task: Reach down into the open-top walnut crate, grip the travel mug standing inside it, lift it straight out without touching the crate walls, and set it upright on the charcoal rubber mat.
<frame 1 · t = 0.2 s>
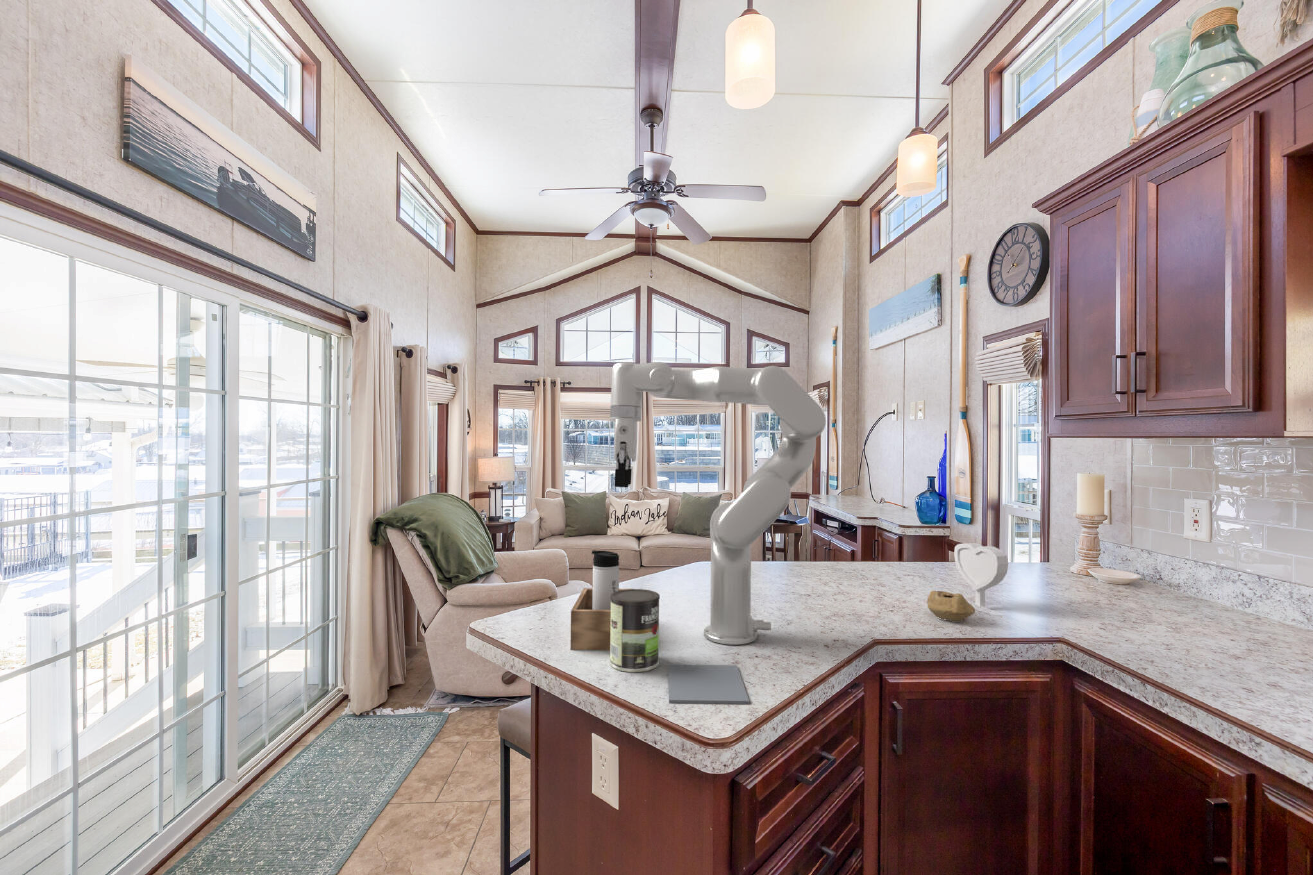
hand: (623, 485, 133), 36 cm above the countertop, tool pointing down, fingers open, 9 cm apart
mat: (705, 683, 105), on the countertop
travel mug: (604, 635, 132), resting in crate
oil lamp: (946, 618, 148), on the countertop
coffee can: (634, 663, 115), on the countertop
crate: (604, 634, 132), on the countertop
heart sculpture: (980, 609, 157), on the countertop
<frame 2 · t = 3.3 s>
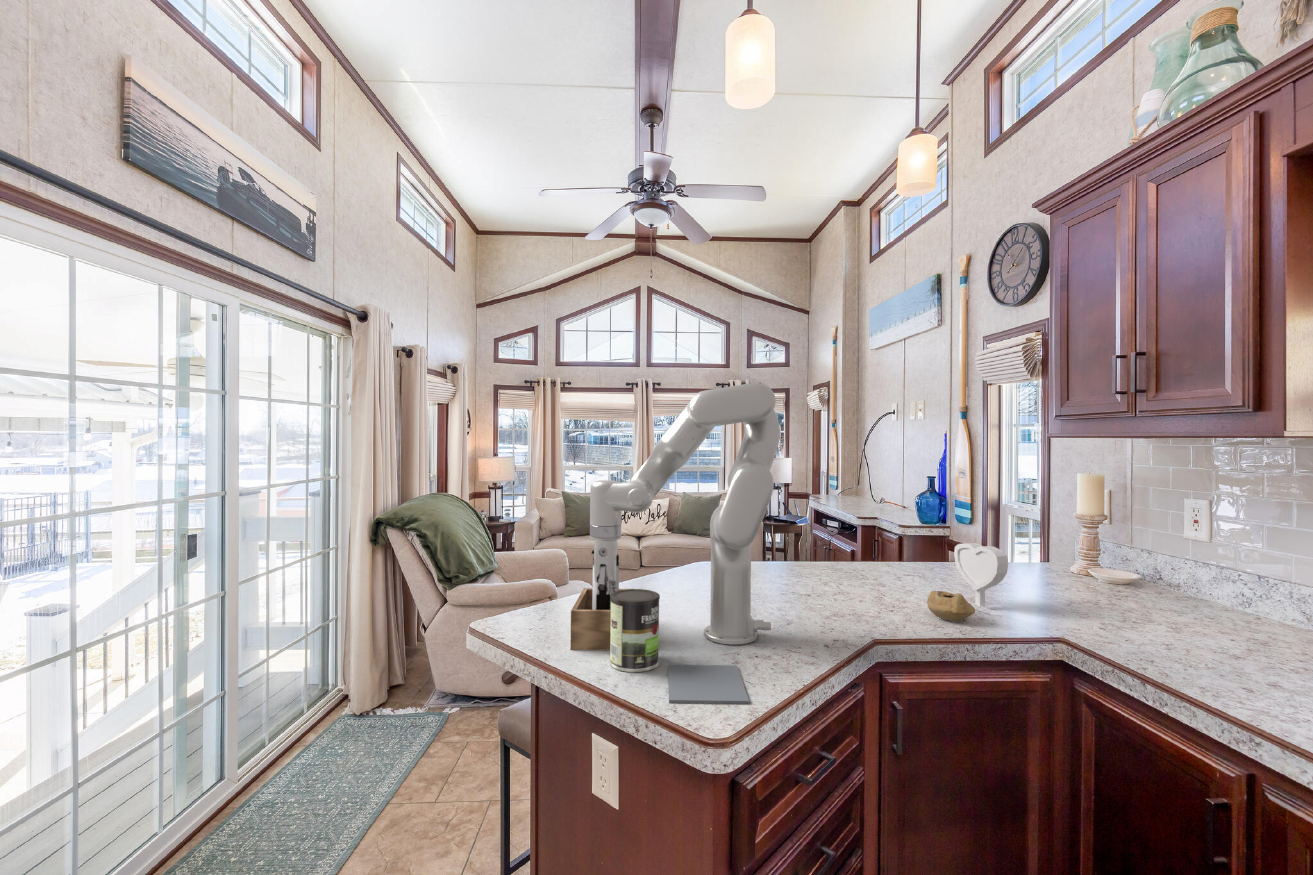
hand: (604, 606, 132), 7 cm above the countertop, tool pointing down, fingers closed on travel mug, 6 cm apart
travel mug: (604, 635, 132), resting in crate, touching gripper
everything else where it was.
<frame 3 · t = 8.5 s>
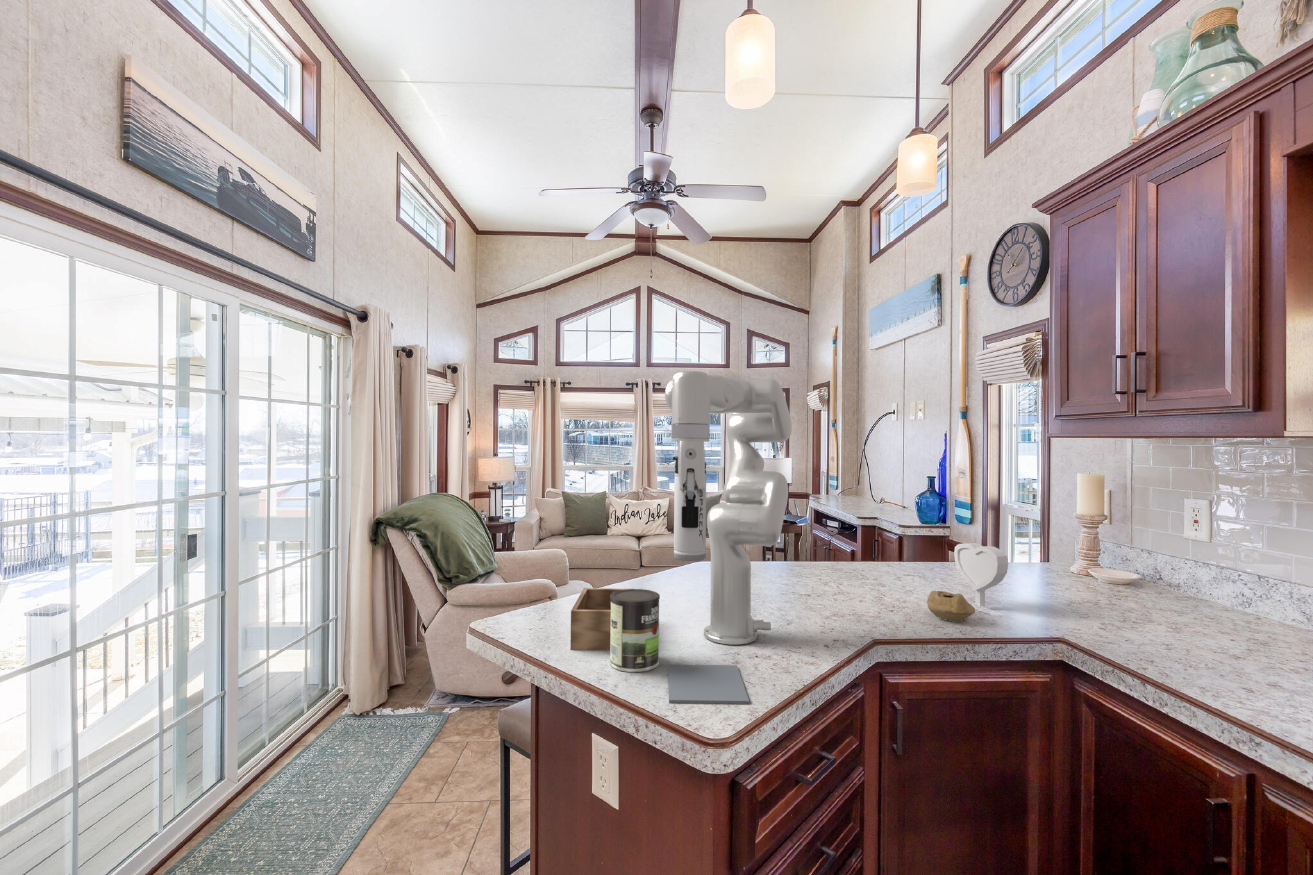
hand: (689, 524, 109), 30 cm above the countertop, tool pointing down, fingers closed on travel mug, 6 cm apart
travel mug: (688, 559, 109), point 23 cm above the countertop, touching gripper
everything else where it was.
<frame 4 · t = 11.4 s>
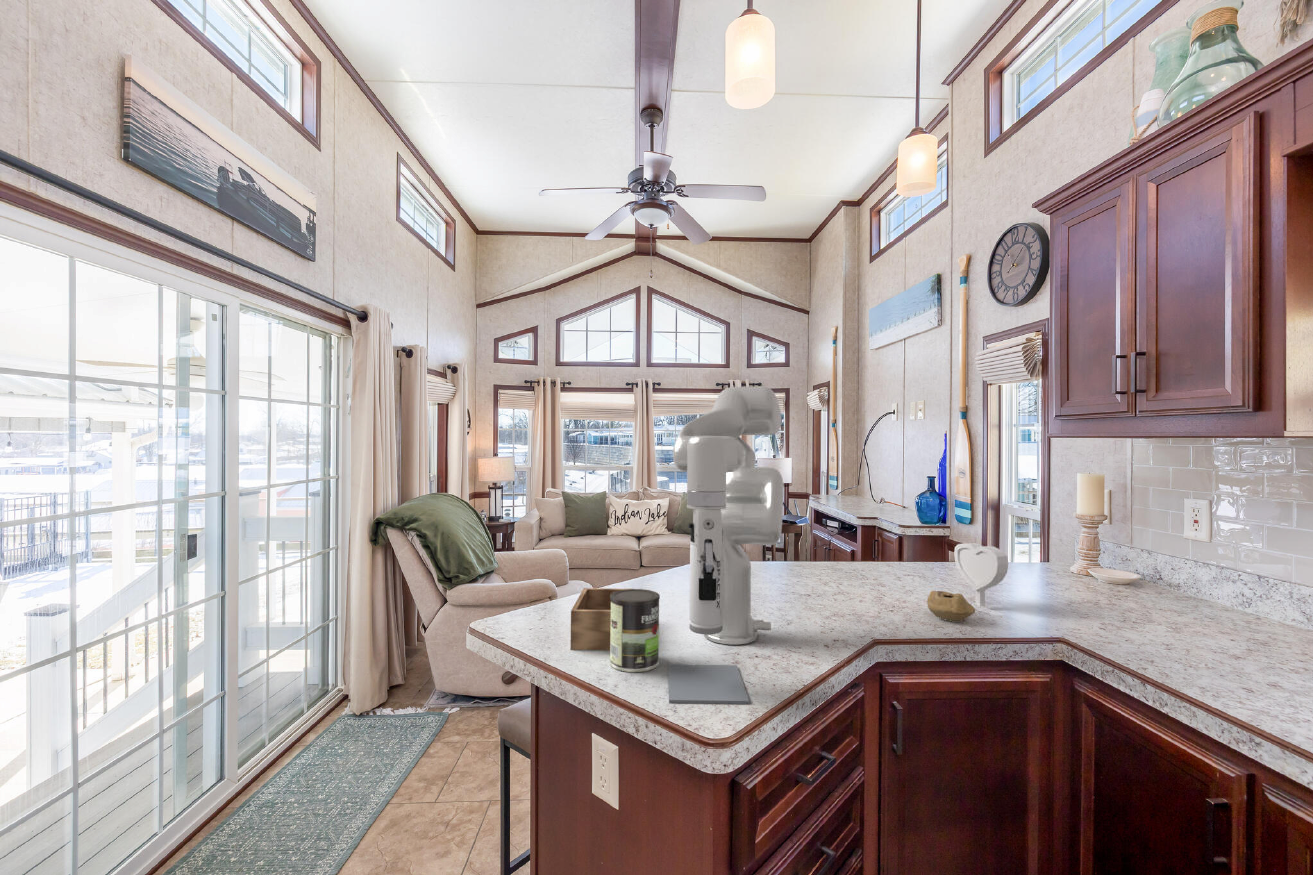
hand: (705, 594, 105), 17 cm above the countertop, tool pointing down, fingers closed on travel mug, 6 cm apart
travel mug: (705, 630, 105), point 10 cm above the countertop, touching gripper
everything else where it was.
when the fingers open (8 cm above the countertop, at t = 14.0 s): travel mug drops 1 cm, resting on mat.
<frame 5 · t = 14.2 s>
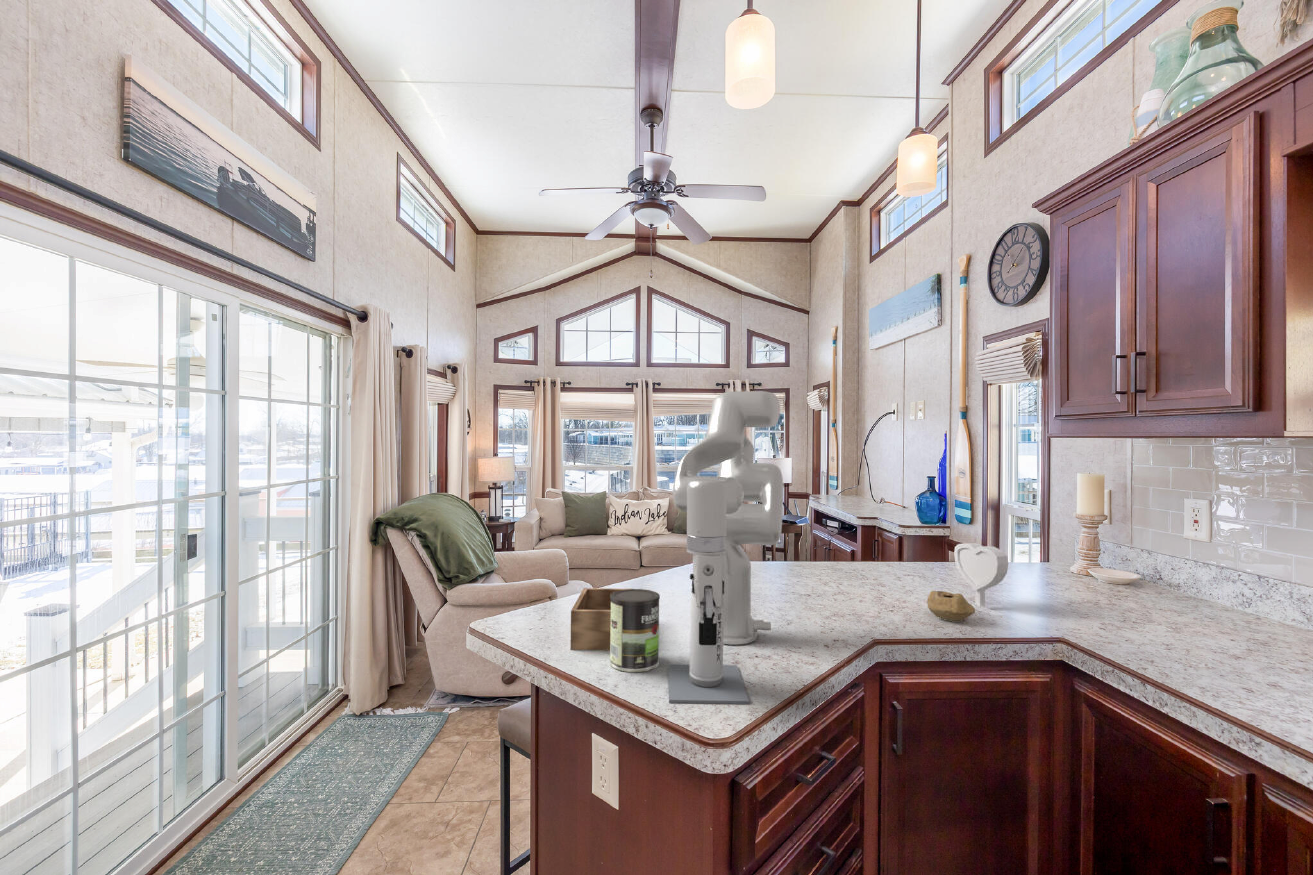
hand: (705, 636, 105), 9 cm above the countertop, tool pointing down, fingers open, 8 cm apart
travel mug: (704, 681, 105), resting on mat
everything else where it was.
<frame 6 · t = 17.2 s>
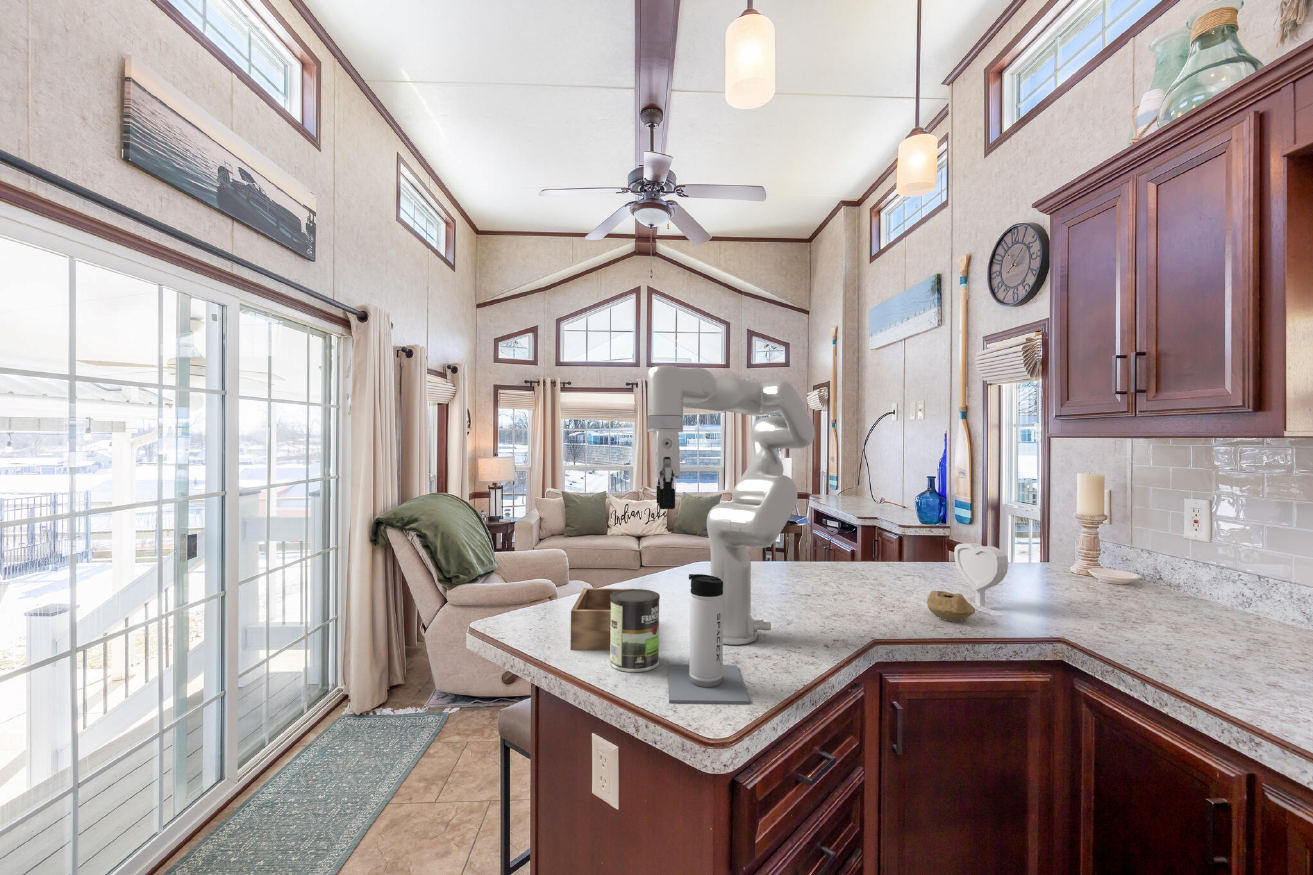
hand: (665, 506, 116), 32 cm above the countertop, tool pointing down, fingers open, 9 cm apart
nothing on the countertop moved.
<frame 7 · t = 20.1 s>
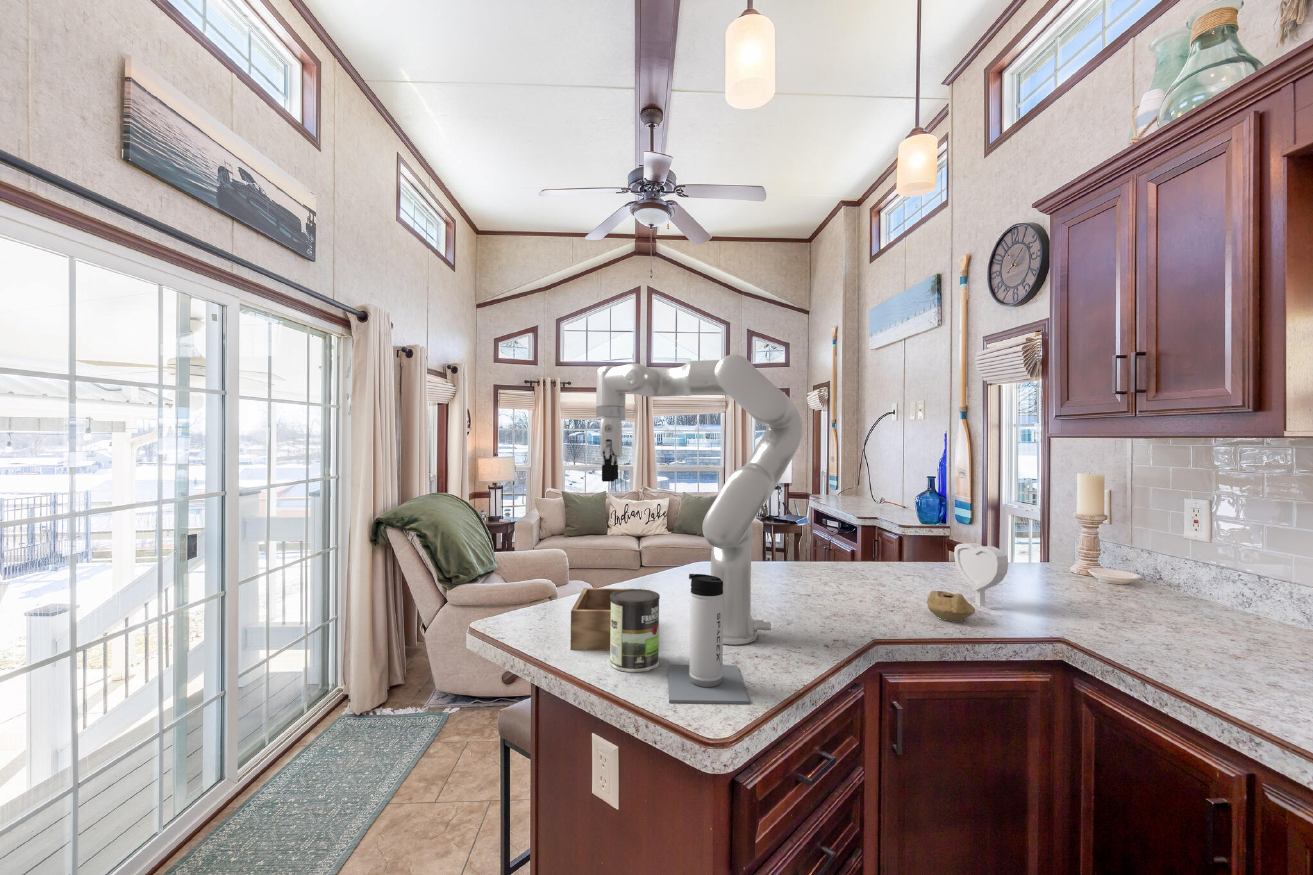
hand: (610, 480, 143), 36 cm above the countertop, tool pointing down, fingers open, 9 cm apart
nothing on the countertop moved.
at the end: travel mug inside the target area on the mat (0.2 cm from its centre), point 0.3 cm above the mat's base; travel mug tilted 0°; the gripper is holding nothing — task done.
